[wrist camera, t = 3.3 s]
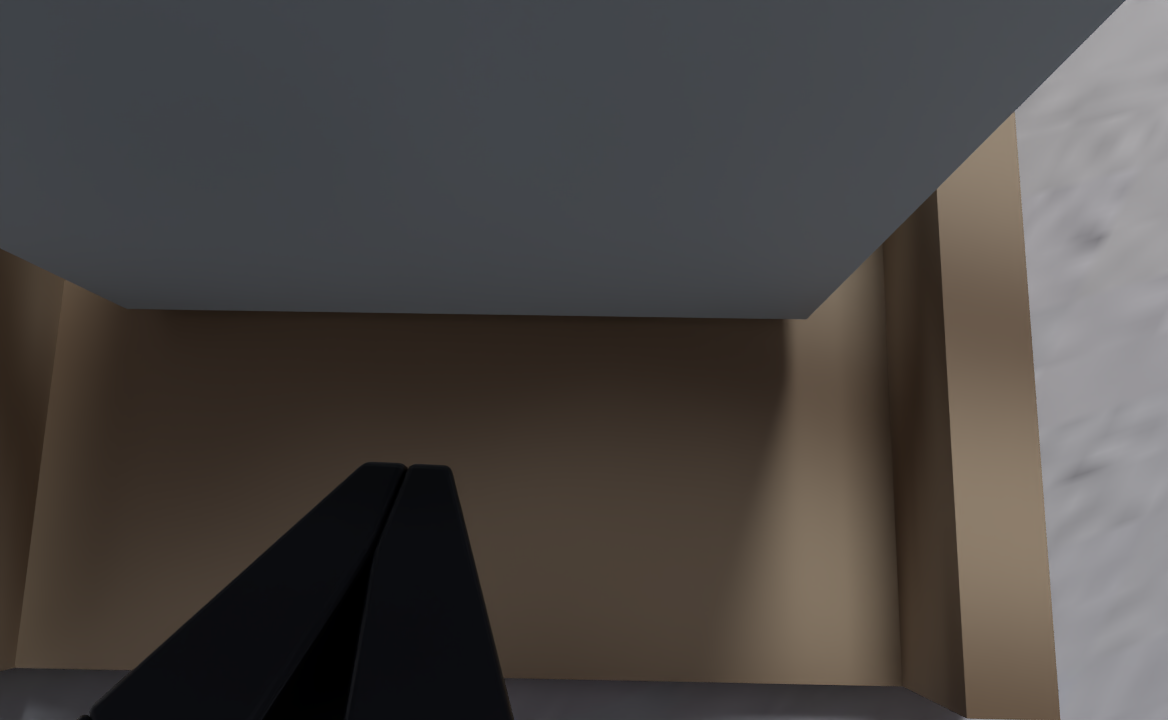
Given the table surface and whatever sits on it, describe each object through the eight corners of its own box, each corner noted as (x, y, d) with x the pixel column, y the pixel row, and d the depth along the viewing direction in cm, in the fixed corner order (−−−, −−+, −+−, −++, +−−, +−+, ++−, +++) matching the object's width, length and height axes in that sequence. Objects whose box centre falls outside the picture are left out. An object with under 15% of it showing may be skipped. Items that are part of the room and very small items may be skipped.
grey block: (806, 319, 15) (1134, -8, 6) (126, 308, 15) (-570, -25, 6) (798, 33, 16) (1067, -622, 7) (158, 27, 16) (-402, -627, 7)
